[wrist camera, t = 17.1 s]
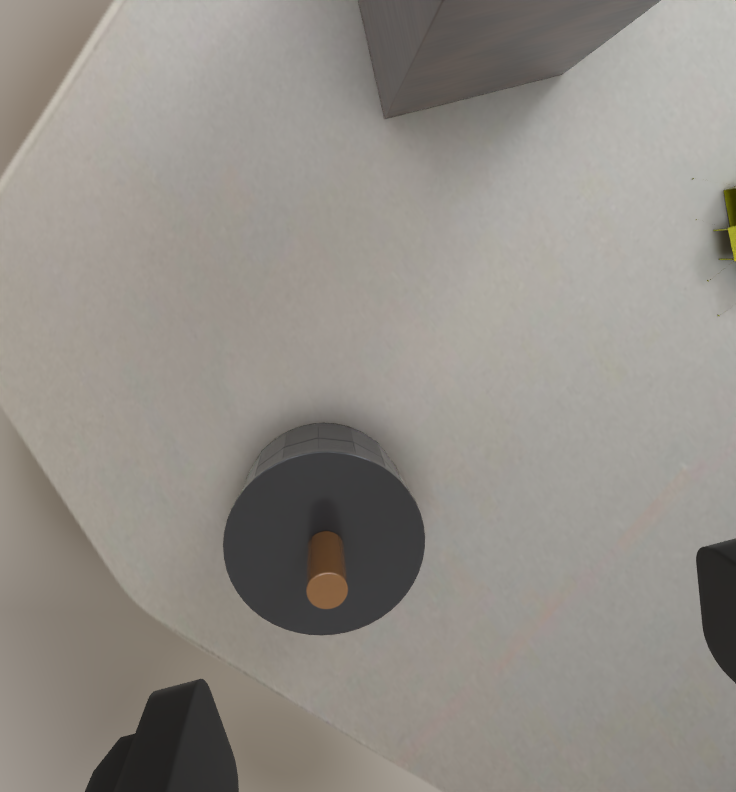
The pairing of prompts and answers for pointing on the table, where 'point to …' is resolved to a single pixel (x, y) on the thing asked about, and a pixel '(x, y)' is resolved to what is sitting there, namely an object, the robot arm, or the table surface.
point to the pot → (320, 445)
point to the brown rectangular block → (481, 44)
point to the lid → (324, 542)
